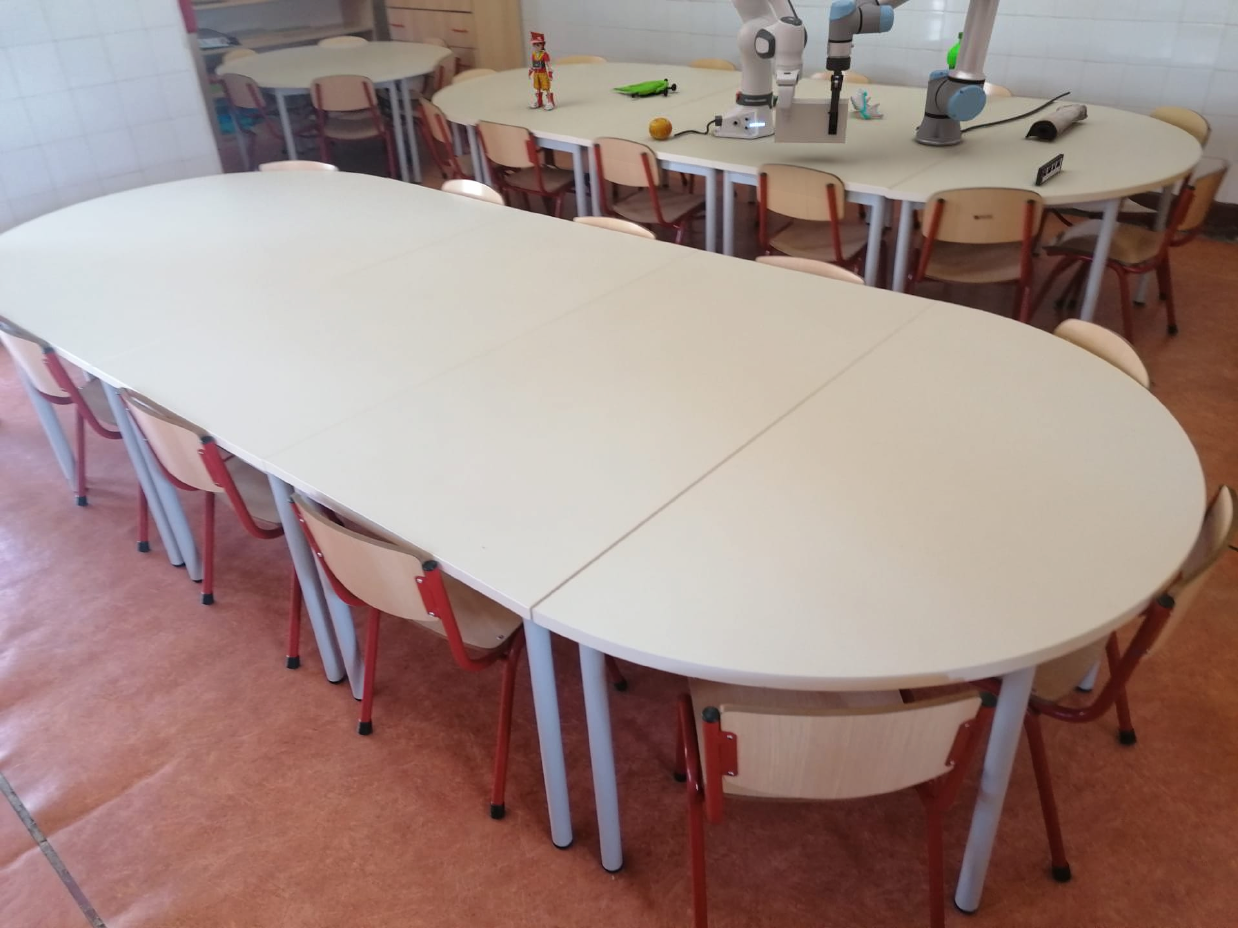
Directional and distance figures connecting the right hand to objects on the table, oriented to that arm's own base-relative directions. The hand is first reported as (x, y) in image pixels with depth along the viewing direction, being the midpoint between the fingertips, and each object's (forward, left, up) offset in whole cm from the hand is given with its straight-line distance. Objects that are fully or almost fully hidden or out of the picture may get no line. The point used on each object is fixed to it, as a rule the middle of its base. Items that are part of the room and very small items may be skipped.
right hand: (832, 131), depth 295 cm
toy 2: (+14, -130, -10) cm, 131 cm away
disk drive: (-18, -77, -10) cm, 80 cm away
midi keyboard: (-45, +50, -10) cm, 68 cm away
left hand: (+13, -9, +4) cm, 16 cm away
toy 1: (+60, -128, -10) cm, 142 cm away
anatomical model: (-43, -43, -10) cm, 61 cm away
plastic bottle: (-83, -39, -10) cm, 92 cm away
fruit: (+37, -56, -10) cm, 68 cm away
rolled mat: (-85, +12, -10) cm, 86 cm away
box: (+6, -4, -3) cm, 8 cm away
